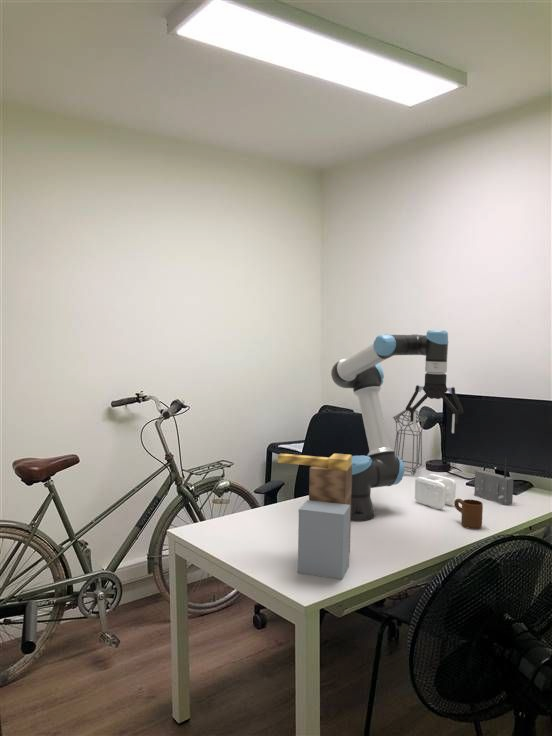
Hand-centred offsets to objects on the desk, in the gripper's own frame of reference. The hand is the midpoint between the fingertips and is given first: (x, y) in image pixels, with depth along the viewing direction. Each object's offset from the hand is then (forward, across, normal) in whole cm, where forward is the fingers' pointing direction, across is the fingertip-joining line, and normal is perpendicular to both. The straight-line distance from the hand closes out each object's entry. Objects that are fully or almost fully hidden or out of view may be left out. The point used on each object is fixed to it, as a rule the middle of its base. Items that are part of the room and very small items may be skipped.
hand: (433, 431), depth 211 cm
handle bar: (+8, -37, -31) cm, 49 cm away
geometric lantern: (+40, -13, +89) cm, 98 cm away
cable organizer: (+39, +1, +38) cm, 54 cm away
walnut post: (+38, -31, -31) cm, 58 cm away
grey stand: (+38, -31, -43) cm, 65 cm away
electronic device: (+39, +25, +53) cm, 70 cm away
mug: (+39, +14, +16) cm, 44 cm away
